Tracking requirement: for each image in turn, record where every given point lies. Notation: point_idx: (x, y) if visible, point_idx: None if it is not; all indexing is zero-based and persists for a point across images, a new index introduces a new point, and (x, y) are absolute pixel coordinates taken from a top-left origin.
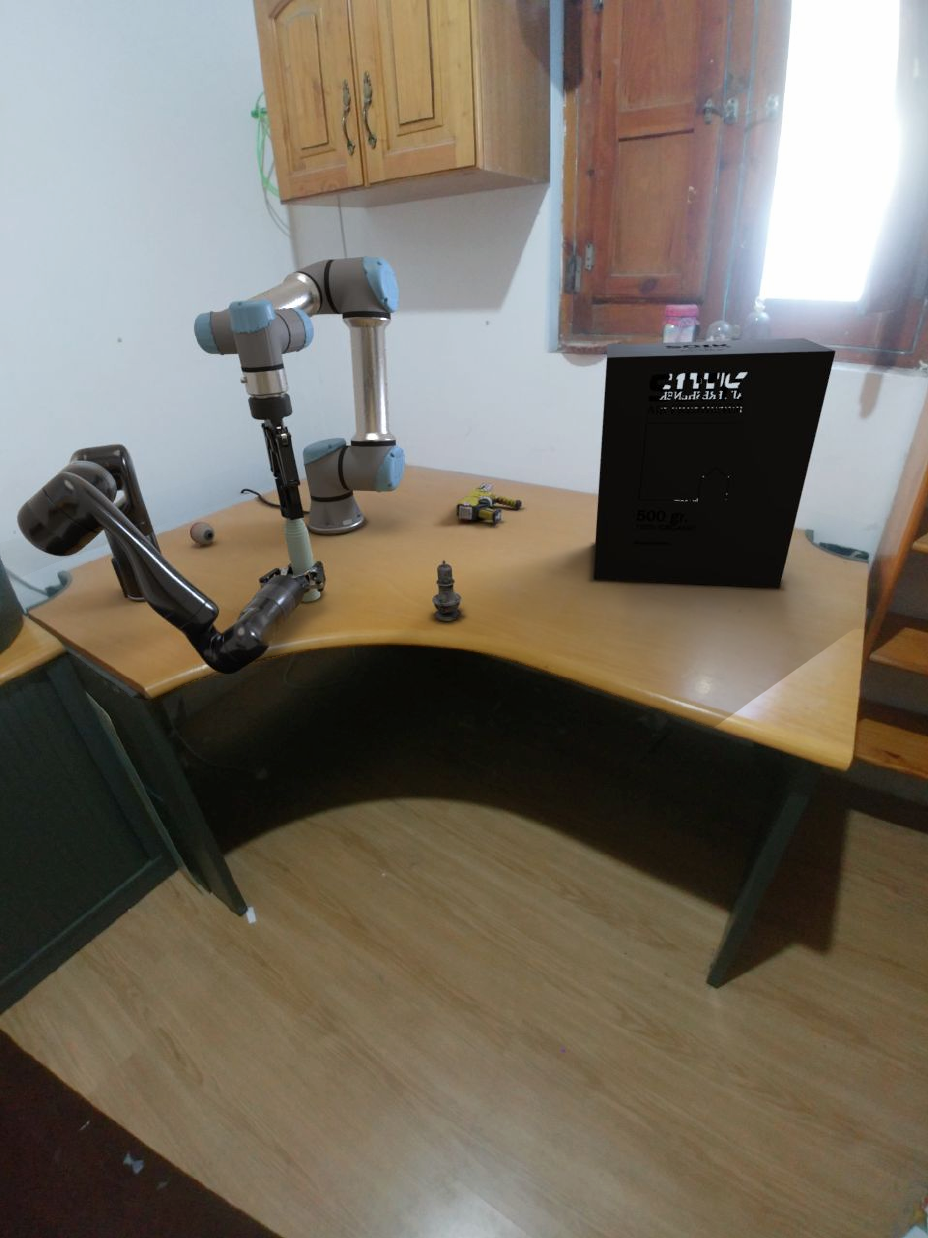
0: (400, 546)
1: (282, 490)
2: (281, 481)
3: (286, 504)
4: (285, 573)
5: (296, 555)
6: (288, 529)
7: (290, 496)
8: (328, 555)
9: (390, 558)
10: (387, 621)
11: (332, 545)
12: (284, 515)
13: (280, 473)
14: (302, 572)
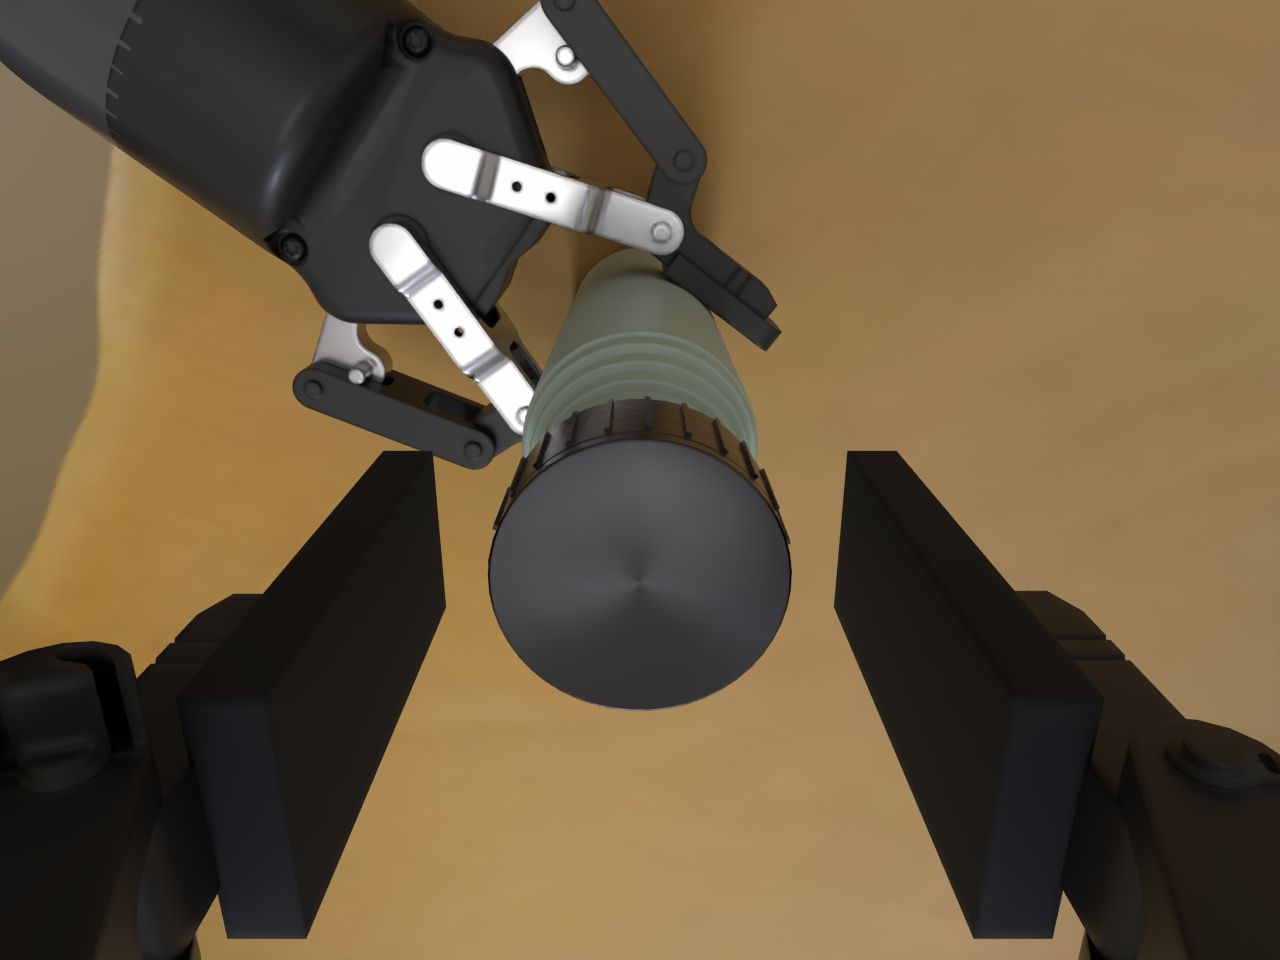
0: (941, 905)
1: (915, 640)
2: (975, 756)
3: (702, 540)
4: (511, 198)
5: (557, 342)
6: (585, 387)
7: (148, 671)
8: (1126, 574)
9: (833, 820)
10: (152, 575)
11: (1250, 636)
12: (567, 425)
13: (1117, 897)
14: (458, 320)
